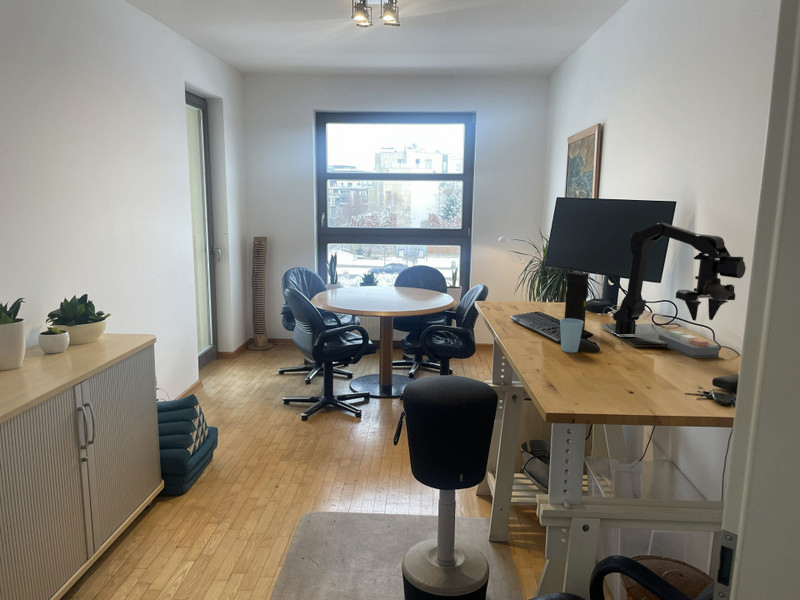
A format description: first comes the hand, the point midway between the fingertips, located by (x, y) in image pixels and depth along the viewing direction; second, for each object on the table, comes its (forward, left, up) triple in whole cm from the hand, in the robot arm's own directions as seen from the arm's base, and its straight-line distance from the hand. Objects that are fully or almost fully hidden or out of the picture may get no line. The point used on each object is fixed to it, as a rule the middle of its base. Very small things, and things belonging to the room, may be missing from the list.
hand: (702, 320), depth 194 cm
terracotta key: (0, 0, -9) cm, 9 cm away
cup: (-42, +11, -12) cm, 45 cm away
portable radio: (-25, +39, -12) cm, 48 cm away
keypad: (0, +6, -12) cm, 13 cm away
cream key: (0, +6, -9) cm, 11 cm away
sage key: (0, +11, -10) cm, 15 cm away
